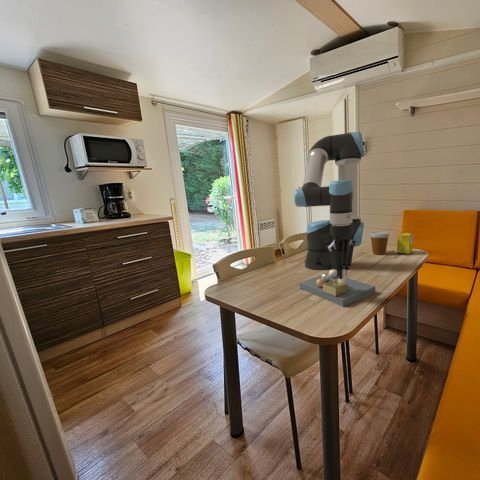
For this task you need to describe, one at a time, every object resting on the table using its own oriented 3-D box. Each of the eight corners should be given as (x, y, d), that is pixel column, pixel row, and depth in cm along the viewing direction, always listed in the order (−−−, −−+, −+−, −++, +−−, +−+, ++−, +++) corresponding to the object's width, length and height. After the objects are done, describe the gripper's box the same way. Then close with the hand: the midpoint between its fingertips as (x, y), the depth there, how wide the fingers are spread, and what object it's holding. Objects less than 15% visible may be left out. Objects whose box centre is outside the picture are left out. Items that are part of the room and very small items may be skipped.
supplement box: (400, 251, 149) (400, 232, 146) (412, 252, 144) (413, 233, 142) (396, 253, 145) (397, 234, 143) (409, 255, 140) (409, 235, 138)
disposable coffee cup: (381, 256, 141) (381, 235, 139) (366, 253, 150) (366, 233, 147) (392, 253, 146) (393, 232, 143) (376, 250, 154) (377, 230, 152)
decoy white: (327, 277, 113) (327, 269, 112) (332, 275, 114) (332, 267, 114) (333, 279, 110) (333, 271, 109) (339, 277, 111) (339, 269, 111)
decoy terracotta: (314, 286, 104) (314, 278, 103) (320, 284, 106) (320, 276, 105) (320, 289, 101) (320, 281, 100) (327, 287, 103) (326, 278, 102)
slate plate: (299, 288, 110) (299, 282, 110) (329, 277, 119) (329, 272, 118) (342, 306, 91) (342, 299, 91) (375, 292, 100) (375, 286, 99)
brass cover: (322, 291, 98) (322, 283, 98) (334, 287, 101) (333, 279, 101) (335, 296, 93) (335, 288, 93) (347, 291, 96) (347, 284, 95)
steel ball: (319, 281, 109) (319, 273, 109) (325, 279, 111) (325, 271, 110) (325, 283, 106) (325, 275, 106) (331, 281, 108) (331, 273, 107)
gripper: (337, 227, 88) (338, 293, 92) (362, 222, 94) (362, 284, 98) (320, 226, 94) (321, 287, 99) (344, 220, 100) (345, 279, 105)
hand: (342, 286), depth 99 cm, fingers closed
